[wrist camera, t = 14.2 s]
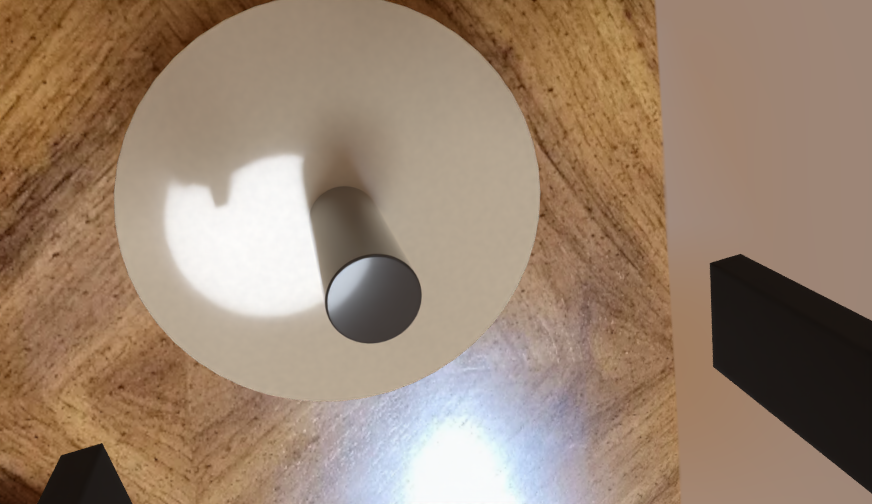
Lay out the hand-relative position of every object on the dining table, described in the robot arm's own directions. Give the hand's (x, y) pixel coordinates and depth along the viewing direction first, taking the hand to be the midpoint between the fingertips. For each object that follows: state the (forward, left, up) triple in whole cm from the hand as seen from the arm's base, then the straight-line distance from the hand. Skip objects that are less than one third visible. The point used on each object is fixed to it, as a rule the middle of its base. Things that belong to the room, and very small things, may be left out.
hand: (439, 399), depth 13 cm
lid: (+1, 0, -14) cm, 14 cm away
